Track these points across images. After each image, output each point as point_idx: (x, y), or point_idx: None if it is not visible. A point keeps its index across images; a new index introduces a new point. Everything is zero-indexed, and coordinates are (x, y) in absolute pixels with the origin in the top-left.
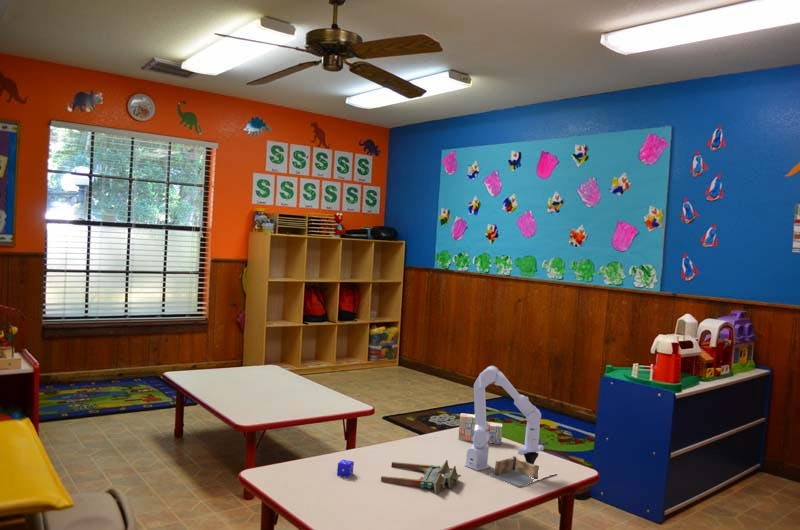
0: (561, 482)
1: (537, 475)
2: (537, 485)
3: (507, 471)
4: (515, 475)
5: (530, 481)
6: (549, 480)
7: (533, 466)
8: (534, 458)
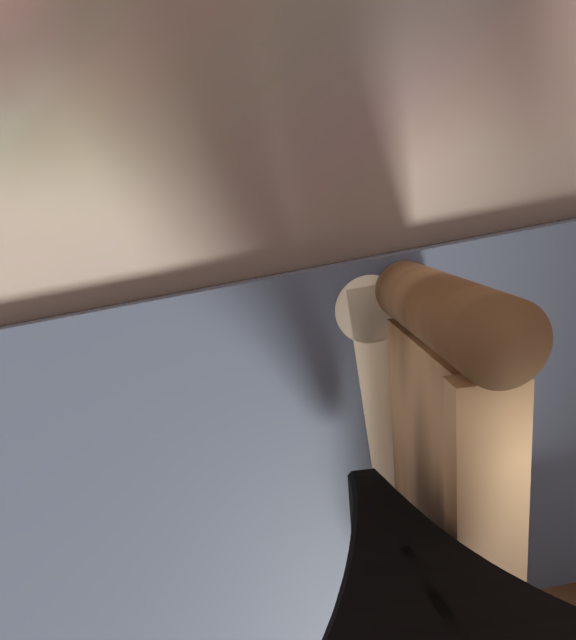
0: (40, 63)
1: (424, 267)
2: (517, 131)
3: (559, 594)
4: (553, 479)
5: (549, 246)
6: (181, 210)
7: (530, 393)
8: (436, 613)
